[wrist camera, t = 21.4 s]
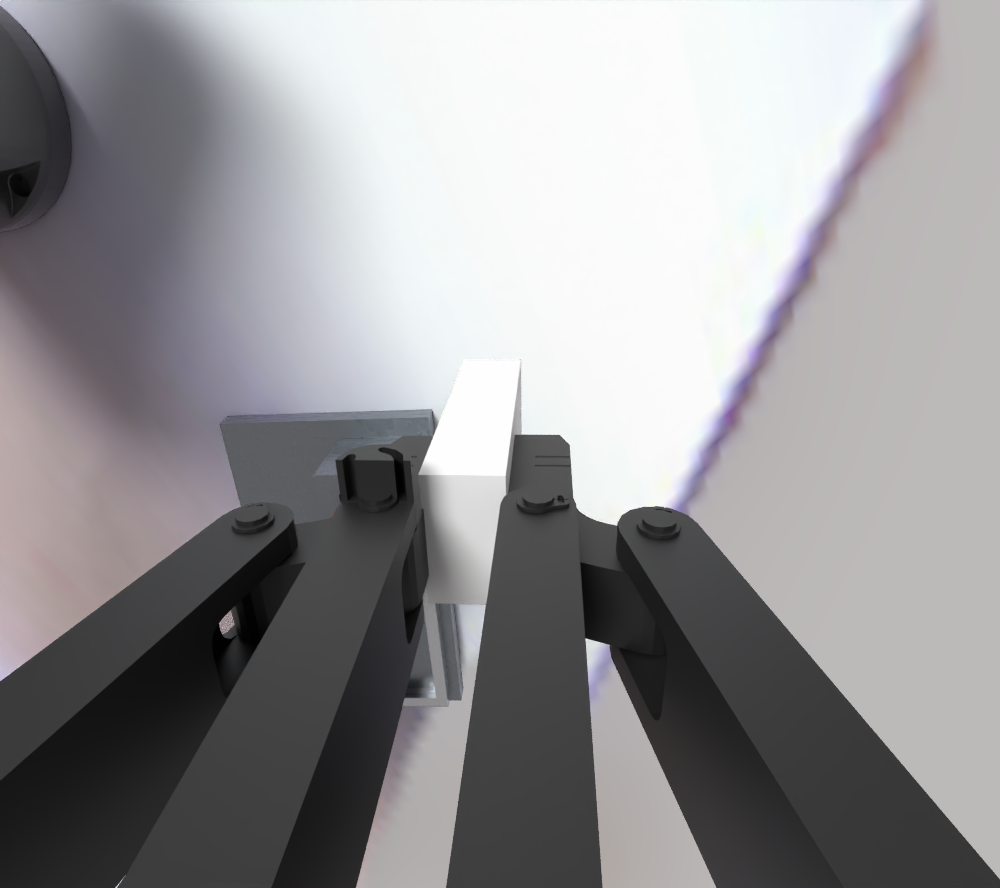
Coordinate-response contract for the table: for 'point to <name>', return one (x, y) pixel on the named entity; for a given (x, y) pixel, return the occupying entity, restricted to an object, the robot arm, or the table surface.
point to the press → (315, 496)
